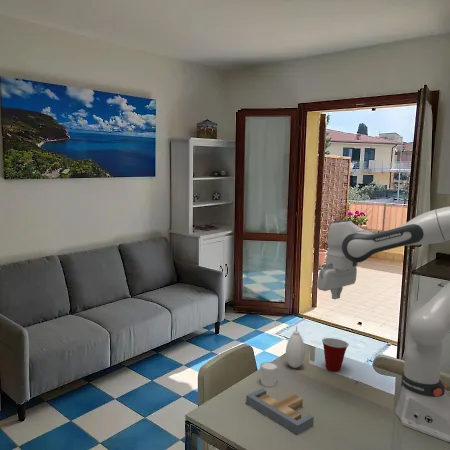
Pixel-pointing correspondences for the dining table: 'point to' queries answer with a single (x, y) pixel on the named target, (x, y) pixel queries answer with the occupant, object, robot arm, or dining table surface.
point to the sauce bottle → (295, 350)
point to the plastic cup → (334, 353)
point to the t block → (285, 404)
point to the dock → (278, 413)
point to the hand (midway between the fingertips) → (335, 298)
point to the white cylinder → (268, 374)
